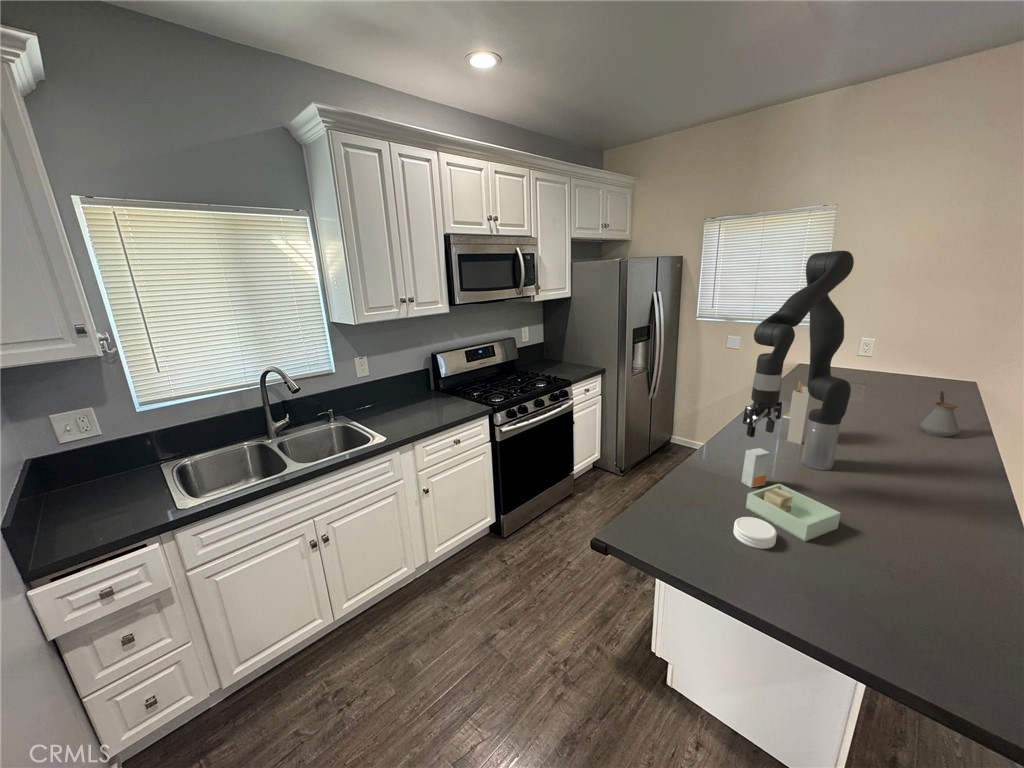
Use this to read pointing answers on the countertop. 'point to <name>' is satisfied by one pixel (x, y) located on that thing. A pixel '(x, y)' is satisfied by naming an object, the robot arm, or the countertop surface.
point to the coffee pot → (941, 420)
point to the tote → (795, 513)
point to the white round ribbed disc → (755, 532)
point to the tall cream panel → (799, 414)
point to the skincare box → (755, 467)
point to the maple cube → (779, 499)
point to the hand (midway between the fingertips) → (759, 434)
